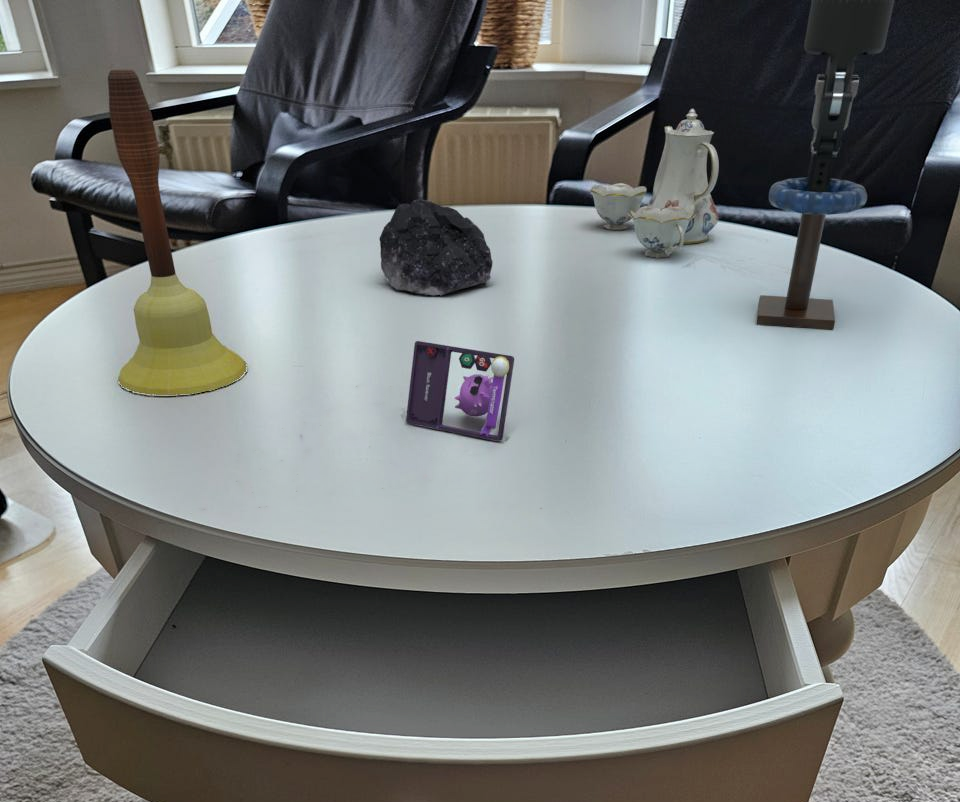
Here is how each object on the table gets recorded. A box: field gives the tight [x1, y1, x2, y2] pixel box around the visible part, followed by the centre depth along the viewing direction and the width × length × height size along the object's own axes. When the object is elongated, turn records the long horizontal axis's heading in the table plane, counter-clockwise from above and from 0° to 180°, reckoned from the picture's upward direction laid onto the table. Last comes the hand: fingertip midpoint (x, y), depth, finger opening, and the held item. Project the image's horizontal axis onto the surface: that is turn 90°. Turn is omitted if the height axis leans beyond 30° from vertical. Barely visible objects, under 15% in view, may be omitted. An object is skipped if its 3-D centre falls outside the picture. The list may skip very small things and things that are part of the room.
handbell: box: [107, 69, 247, 395], centre depth 81 cm, size 12×12×25 cm
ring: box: [768, 176, 868, 216], centre depth 94 cm, size 10×10×2 cm
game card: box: [405, 340, 515, 442], centre depth 76 cm, size 7×5×9 cm
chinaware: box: [589, 108, 720, 259], centre depth 127 cm, size 28×17×17 cm, turn 17°
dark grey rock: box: [379, 199, 494, 296], centre depth 111 cm, size 13×14×10 cm
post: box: [755, 213, 836, 331], centre depth 97 cm, size 8×8×11 cm
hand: (816, 192), depth 97 cm, fingers closed on ring, 2 cm apart
